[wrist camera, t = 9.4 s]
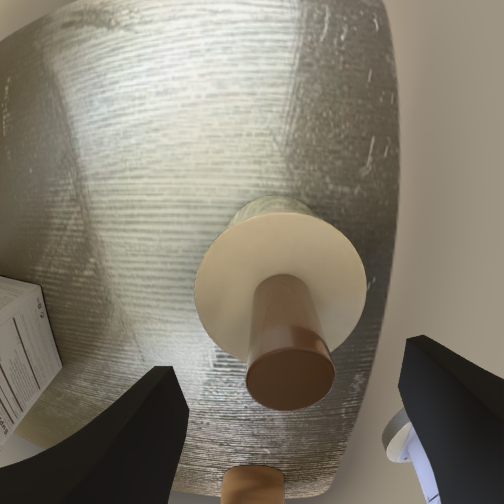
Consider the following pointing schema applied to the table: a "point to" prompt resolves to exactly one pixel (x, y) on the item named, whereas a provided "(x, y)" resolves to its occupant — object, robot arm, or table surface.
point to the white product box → (23, 352)
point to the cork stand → (253, 485)
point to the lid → (281, 302)
